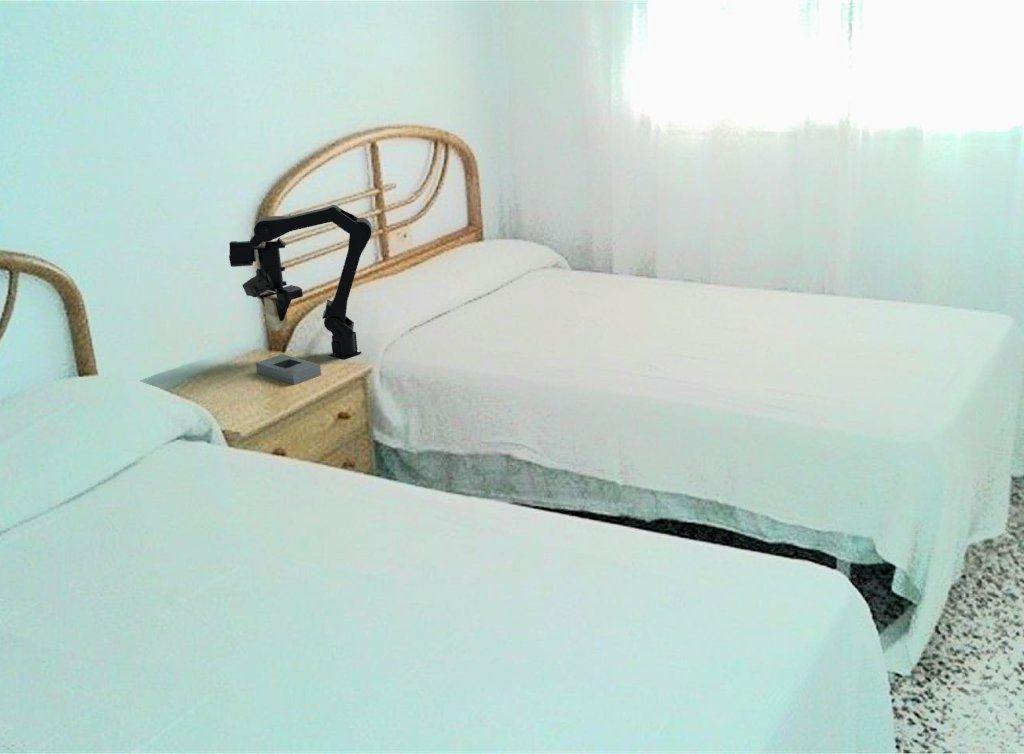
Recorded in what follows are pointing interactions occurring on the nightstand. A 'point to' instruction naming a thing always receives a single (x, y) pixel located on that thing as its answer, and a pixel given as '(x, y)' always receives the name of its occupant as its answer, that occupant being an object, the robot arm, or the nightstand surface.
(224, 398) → the nightstand surface
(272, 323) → the ash peg
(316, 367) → the grey slotted block
